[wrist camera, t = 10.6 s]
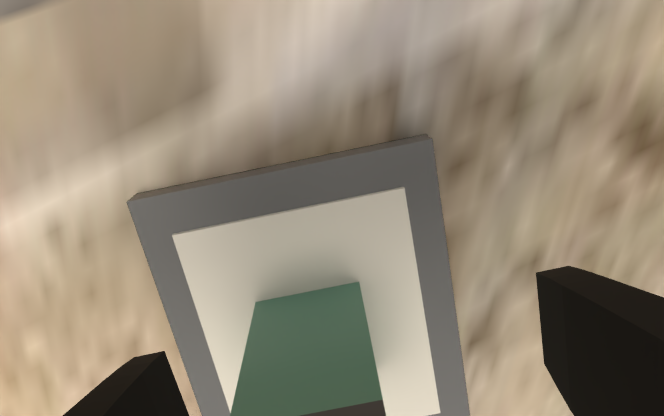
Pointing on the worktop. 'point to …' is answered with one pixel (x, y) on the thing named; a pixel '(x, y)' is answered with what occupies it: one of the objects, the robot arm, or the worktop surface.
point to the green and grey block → (309, 357)
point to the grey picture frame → (312, 265)
